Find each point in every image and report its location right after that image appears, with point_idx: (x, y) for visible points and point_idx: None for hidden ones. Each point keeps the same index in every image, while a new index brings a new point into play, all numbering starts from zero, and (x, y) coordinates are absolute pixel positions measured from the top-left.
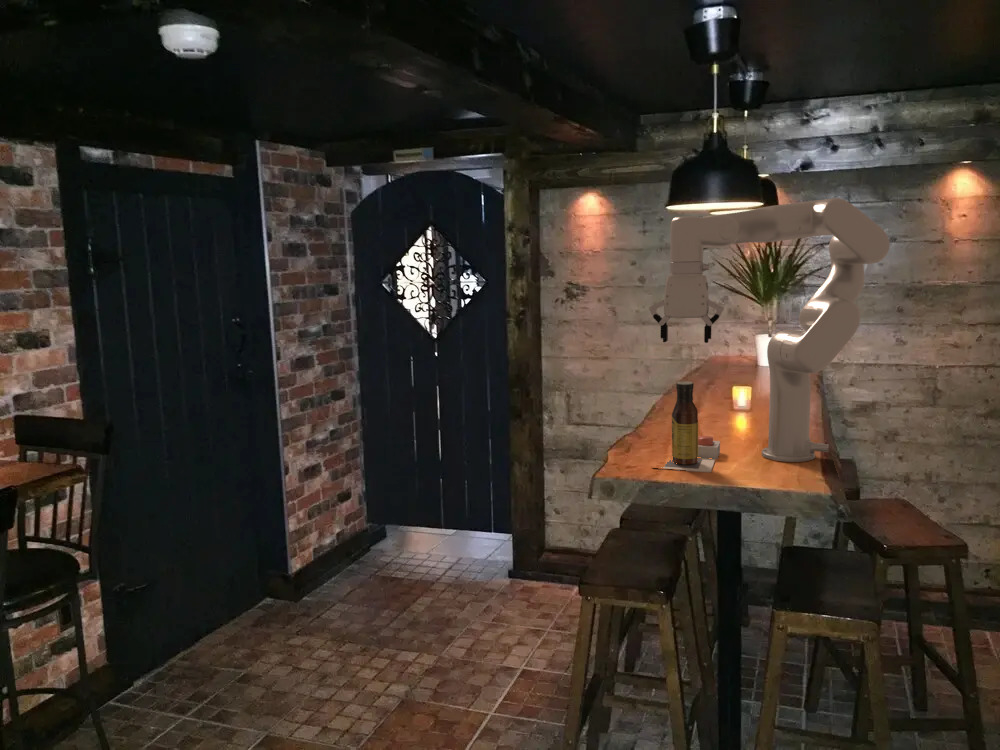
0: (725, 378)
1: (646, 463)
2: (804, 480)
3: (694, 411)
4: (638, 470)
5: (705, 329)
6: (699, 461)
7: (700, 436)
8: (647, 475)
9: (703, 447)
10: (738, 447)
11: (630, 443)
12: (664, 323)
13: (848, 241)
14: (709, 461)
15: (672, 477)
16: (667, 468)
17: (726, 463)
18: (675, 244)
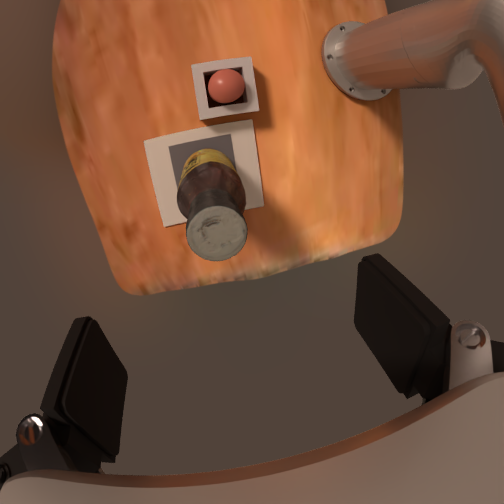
0: None
1: (143, 196)
2: (387, 194)
3: (242, 213)
4: (151, 244)
5: (396, 382)
6: (230, 151)
7: (214, 77)
8: (176, 264)
9: (230, 114)
10: (270, 14)
11: (65, 74)
12: (103, 472)
13: None
14: (246, 142)
15: None
16: None
17: (275, 135)
18: None
